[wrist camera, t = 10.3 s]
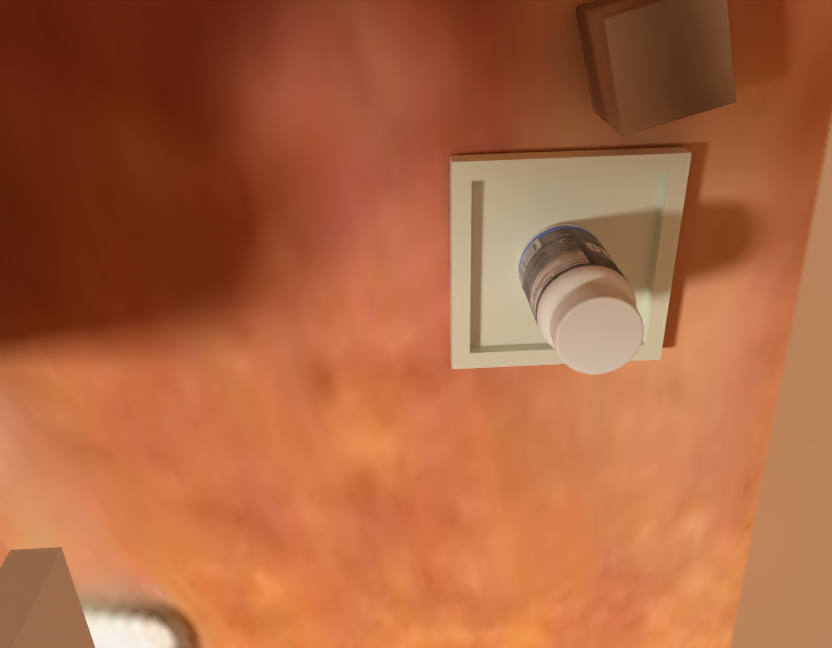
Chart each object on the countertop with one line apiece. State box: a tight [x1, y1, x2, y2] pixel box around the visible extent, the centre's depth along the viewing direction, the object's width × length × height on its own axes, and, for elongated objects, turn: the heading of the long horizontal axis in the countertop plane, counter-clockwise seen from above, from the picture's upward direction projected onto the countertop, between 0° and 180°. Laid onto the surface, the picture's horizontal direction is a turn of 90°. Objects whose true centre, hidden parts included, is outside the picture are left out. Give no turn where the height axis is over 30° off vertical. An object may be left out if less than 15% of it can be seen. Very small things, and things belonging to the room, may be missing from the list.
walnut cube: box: [576, 0, 736, 136], centre depth 34 cm, size 5×5×5 cm
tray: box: [450, 147, 692, 369], centre depth 40 cm, size 12×12×1 cm
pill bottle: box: [518, 224, 644, 374], centre depth 37 cm, size 5×5×8 cm
